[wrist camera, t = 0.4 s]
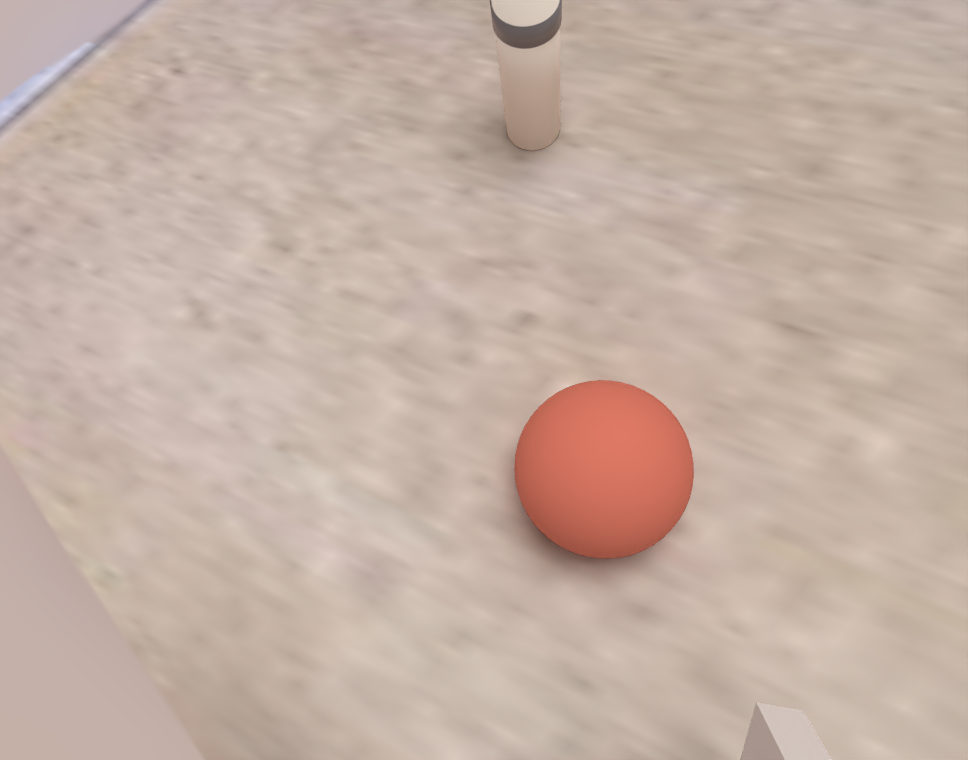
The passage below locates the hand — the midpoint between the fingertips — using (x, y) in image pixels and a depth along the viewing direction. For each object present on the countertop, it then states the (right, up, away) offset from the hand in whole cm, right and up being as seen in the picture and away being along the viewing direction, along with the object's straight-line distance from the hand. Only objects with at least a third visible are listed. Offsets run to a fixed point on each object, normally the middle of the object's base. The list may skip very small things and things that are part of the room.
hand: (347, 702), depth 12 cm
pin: (+4, +17, +20) cm, 27 cm away
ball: (+6, +2, +13) cm, 14 cm away
